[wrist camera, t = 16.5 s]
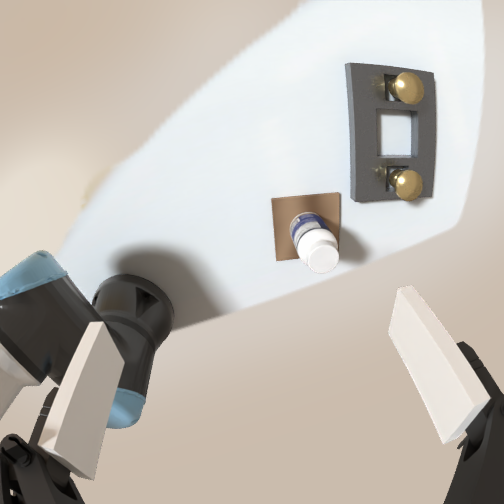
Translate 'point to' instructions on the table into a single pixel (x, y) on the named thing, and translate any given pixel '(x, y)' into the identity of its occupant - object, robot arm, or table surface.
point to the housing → (365, 131)
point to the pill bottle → (314, 242)
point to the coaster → (295, 205)
